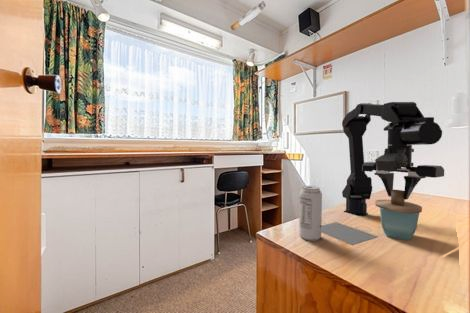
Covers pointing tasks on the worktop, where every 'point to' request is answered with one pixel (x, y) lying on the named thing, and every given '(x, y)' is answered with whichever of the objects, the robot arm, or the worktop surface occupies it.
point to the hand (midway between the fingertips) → (397, 197)
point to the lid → (398, 203)
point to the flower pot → (399, 223)
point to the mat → (346, 233)
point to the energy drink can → (310, 213)
